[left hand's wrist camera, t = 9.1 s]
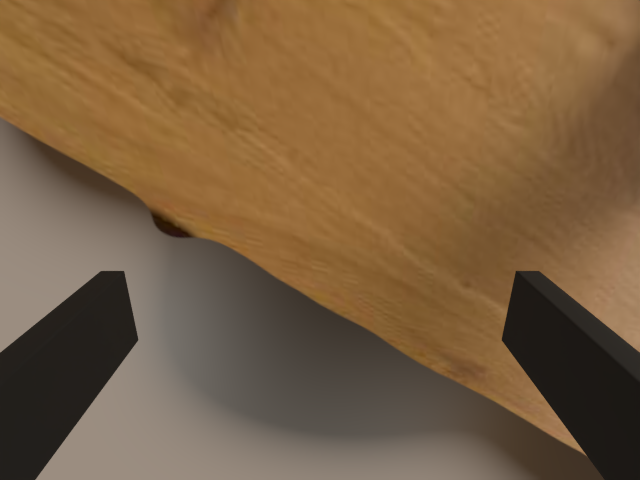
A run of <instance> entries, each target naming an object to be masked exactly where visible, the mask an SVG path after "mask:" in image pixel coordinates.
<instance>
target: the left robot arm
mask: <svg viewBox="0 0 640 480" xmlns="http://www.w3.org/2000/svg"><path fill="white" fill-rule="evenodd" d="M137 341H138V336H137V331H136V326H135V322H134V317H133V312H132V307H131V302H130V298H129V293H128V288H127V283H126V278H125V274H124V271H101V272H99V273H98V274H97V275H96V276H94V277H93V278H92V279H91V280H90V281H88V282H87V283H86V284H85V285H83V286H82V287H81V288H80V289H78V290H77V291H76V292H75V293H73V294H72V295H71V296H70V297H69V298H67V299H66V300H65V301H64V302H62V303H61V304H60V305H59V306H57V307H56V308H55V309H54V310H52V311H51V312H50V313H49V314H48V315H46V316H45V317H44V318H43V319H41V320H40V321H39V322H38V323H36V324H35V325H34V326H33V327H31V328H30V329H29V330H28V331H27V332H25V333H24V334H23V335H22V336H20V337H19V338H18V339H17V340H15V341H14V342H13V343H12V344H10V345H9V346H8V347H7V348H6V349H4V350H3V351H2V352H1V353H0V480H35V479H36V478H37V477H38V475H39V474H40V472H41V471H42V470H43V468H44V467H45V466H46V464H47V463H48V462H49V460H50V459H51V458H52V456H53V455H54V454H55V452H56V451H57V449H58V448H59V447H60V445H61V444H62V443H63V441H64V440H65V439H66V437H67V436H68V435H69V433H70V432H71V430H72V429H73V428H74V426H75V425H76V424H77V422H78V421H79V420H80V418H81V417H82V415H83V414H84V413H85V412H86V410H87V409H88V407H89V406H90V405H91V403H92V402H93V401H94V399H95V398H96V397H97V395H98V394H99V392H100V391H101V390H102V389H103V387H104V386H105V384H106V383H107V382H108V380H109V379H110V378H111V376H112V375H113V374H114V372H115V371H116V370H117V368H118V367H119V365H120V364H121V363H122V361H123V360H124V359H125V357H126V356H127V355H128V353H129V352H130V351H131V349H132V348H133V347H134V345H135V344H136V342H137ZM502 341H503V342H504V344H505V345H506V347H507V348H508V349H509V351H510V352H511V353H512V355H513V356H514V357H515V359H516V360H517V361H518V363H519V364H520V365H521V367H522V368H523V370H524V371H525V372H526V374H527V375H528V376H529V378H530V379H531V380H532V382H533V383H534V384H535V386H536V387H537V389H538V390H539V391H540V393H541V394H542V395H543V397H544V398H545V399H546V401H547V402H548V403H549V405H550V406H551V407H552V409H553V410H554V412H555V413H556V414H557V416H558V417H559V418H560V420H561V421H562V422H563V424H564V425H565V426H566V428H567V429H568V431H569V432H570V433H571V435H572V436H573V437H574V439H575V440H576V441H577V443H578V444H579V445H580V447H581V448H582V449H583V451H584V452H585V454H586V455H587V456H588V458H589V459H590V460H591V462H592V463H593V464H594V466H595V467H596V468H597V470H598V471H599V473H600V474H601V475H602V477H603V478H604V479H605V480H640V353H639V352H638V351H637V350H636V349H634V348H633V347H632V346H631V345H630V344H628V343H627V342H626V341H625V340H623V339H622V338H621V337H620V336H618V335H617V334H616V333H615V332H613V331H612V330H611V329H610V328H609V327H607V326H606V325H605V324H604V323H602V322H601V321H600V320H599V319H597V318H596V317H595V316H594V315H592V314H591V313H590V312H589V311H588V310H586V309H585V308H584V307H583V306H581V305H580V304H579V303H578V302H576V301H575V300H574V299H573V298H571V297H570V296H569V295H568V294H567V293H565V292H564V291H563V290H562V289H560V288H559V287H558V286H557V285H555V284H554V283H553V282H552V281H551V280H549V279H548V278H547V277H546V276H544V275H543V274H542V273H541V272H539V271H516V273H515V278H514V283H513V288H512V293H511V298H510V302H509V307H508V312H507V317H506V322H505V326H504V331H503V336H502Z"/></svg>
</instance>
